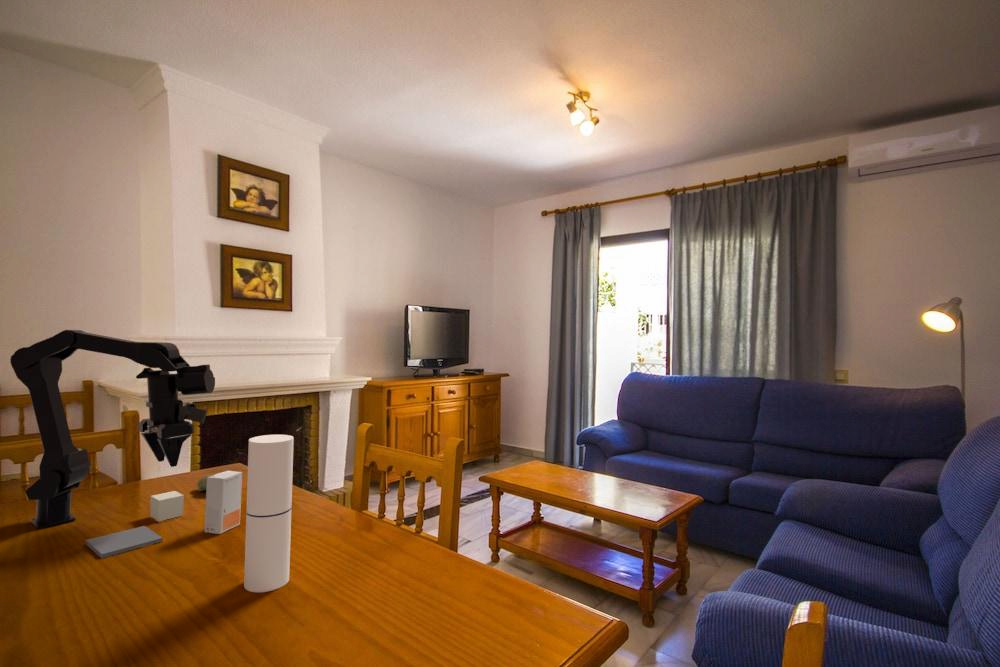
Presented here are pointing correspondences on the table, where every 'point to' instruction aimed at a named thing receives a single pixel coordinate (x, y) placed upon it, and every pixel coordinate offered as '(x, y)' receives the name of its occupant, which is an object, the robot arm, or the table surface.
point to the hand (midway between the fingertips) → (167, 463)
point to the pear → (203, 483)
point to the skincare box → (223, 501)
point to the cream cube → (166, 505)
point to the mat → (123, 541)
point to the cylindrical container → (268, 512)
